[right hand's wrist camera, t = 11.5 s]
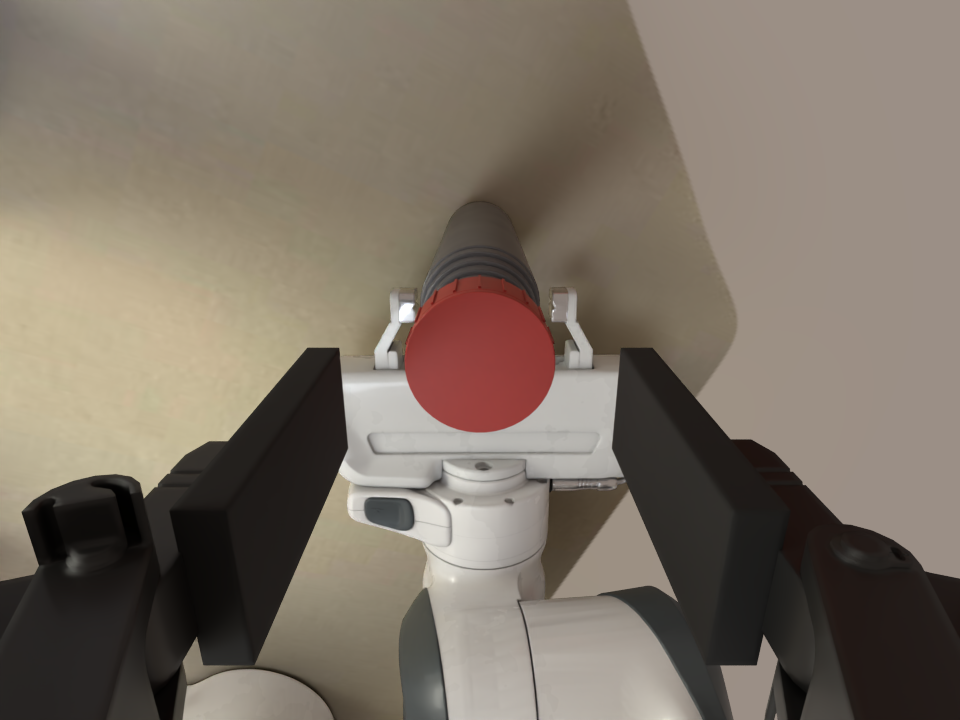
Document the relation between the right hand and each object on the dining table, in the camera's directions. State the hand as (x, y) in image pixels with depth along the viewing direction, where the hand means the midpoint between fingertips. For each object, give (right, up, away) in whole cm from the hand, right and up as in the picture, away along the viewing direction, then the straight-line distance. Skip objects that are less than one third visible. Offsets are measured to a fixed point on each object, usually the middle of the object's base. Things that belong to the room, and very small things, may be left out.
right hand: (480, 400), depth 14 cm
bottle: (0, +9, +25) cm, 27 cm away
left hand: (0, +5, +20) cm, 21 cm away
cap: (0, +1, +3) cm, 3 cm away
